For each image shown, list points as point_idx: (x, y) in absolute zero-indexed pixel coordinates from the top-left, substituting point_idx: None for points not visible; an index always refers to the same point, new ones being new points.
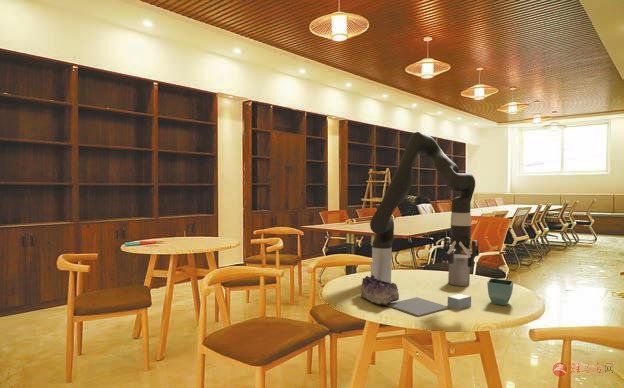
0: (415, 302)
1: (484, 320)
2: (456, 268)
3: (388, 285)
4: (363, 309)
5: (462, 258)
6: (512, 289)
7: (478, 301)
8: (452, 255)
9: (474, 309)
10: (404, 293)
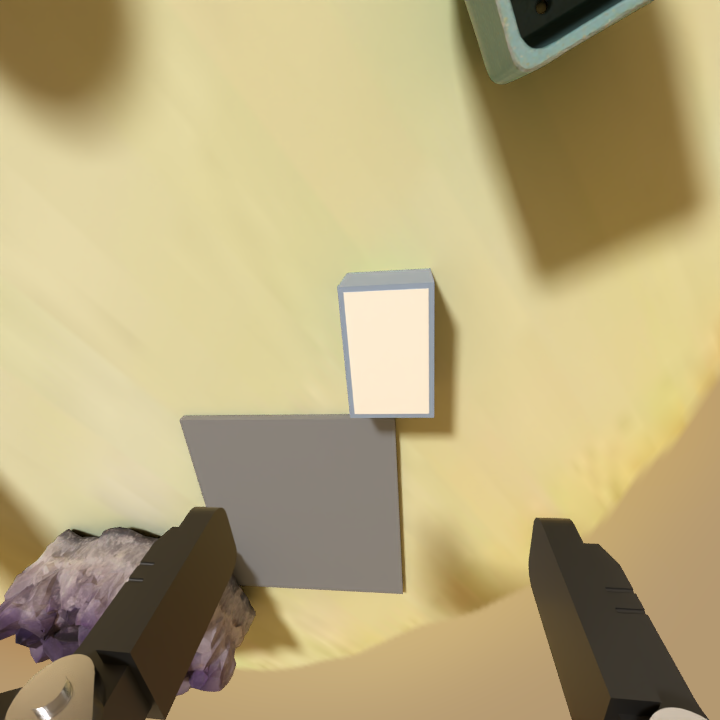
0: (256, 489)
1: (625, 428)
2: None
3: (205, 684)
4: (241, 647)
5: None
6: None
7: (389, 110)
8: (154, 652)
9: (486, 312)
10: (74, 396)
